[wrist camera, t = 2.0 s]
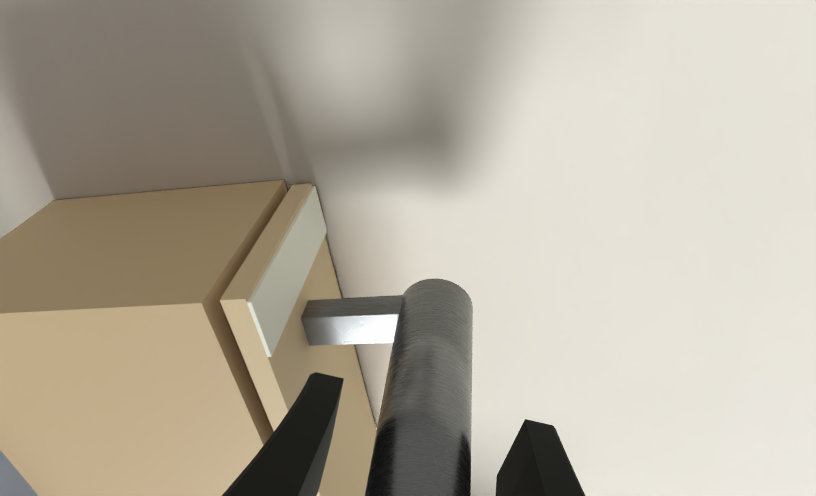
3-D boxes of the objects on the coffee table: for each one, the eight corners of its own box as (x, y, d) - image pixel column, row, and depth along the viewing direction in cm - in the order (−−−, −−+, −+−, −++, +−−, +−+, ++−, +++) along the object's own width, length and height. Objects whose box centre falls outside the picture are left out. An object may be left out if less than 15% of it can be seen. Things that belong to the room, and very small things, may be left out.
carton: (184, 439, 24) (108, 580, 19) (53, 200, 18) (-109, 319, 13) (359, 437, 23) (326, 589, 18) (283, 179, 17) (201, 303, 12)
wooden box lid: (363, 437, 23) (300, 744, 14) (292, 184, 17) (111, 471, 8) (491, 436, 22) (498, 762, 14) (464, 169, 16) (451, 472, 8)
